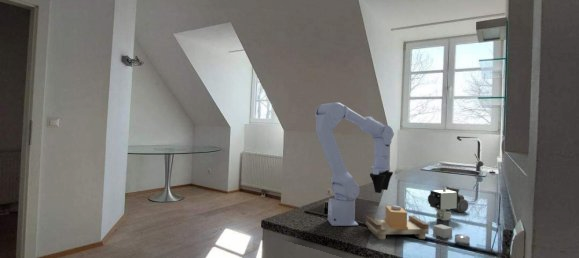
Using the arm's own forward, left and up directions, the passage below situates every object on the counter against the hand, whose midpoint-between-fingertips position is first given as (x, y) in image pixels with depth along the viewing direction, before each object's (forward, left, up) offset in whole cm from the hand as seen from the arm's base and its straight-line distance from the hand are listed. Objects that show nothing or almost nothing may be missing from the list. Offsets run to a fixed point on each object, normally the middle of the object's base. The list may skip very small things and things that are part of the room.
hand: (381, 191), depth 121 cm
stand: (-2, -18, -10) cm, 21 cm away
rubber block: (+13, -20, -11) cm, 26 cm away
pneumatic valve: (+24, -2, -11) cm, 26 cm away
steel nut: (+15, -27, -10) cm, 33 cm away
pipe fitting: (+37, +12, -11) cm, 40 cm away
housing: (-2, -18, -7) cm, 19 cm away
